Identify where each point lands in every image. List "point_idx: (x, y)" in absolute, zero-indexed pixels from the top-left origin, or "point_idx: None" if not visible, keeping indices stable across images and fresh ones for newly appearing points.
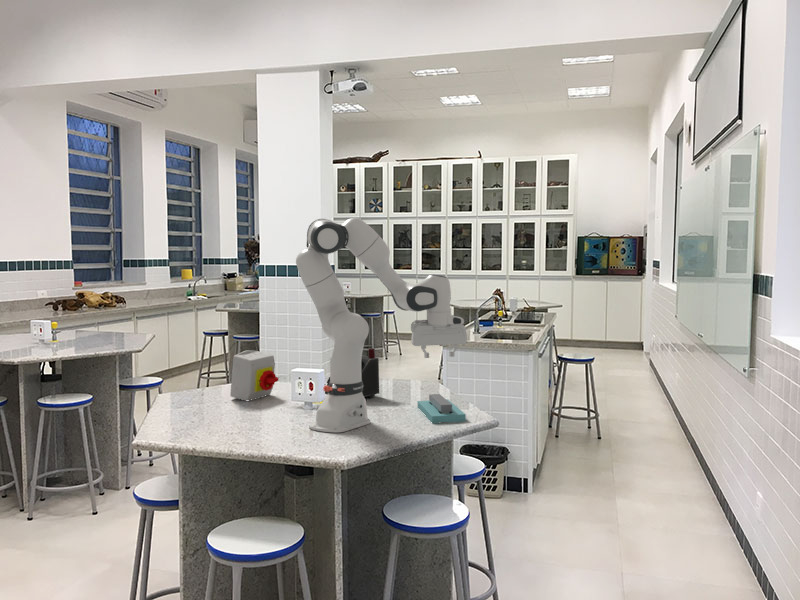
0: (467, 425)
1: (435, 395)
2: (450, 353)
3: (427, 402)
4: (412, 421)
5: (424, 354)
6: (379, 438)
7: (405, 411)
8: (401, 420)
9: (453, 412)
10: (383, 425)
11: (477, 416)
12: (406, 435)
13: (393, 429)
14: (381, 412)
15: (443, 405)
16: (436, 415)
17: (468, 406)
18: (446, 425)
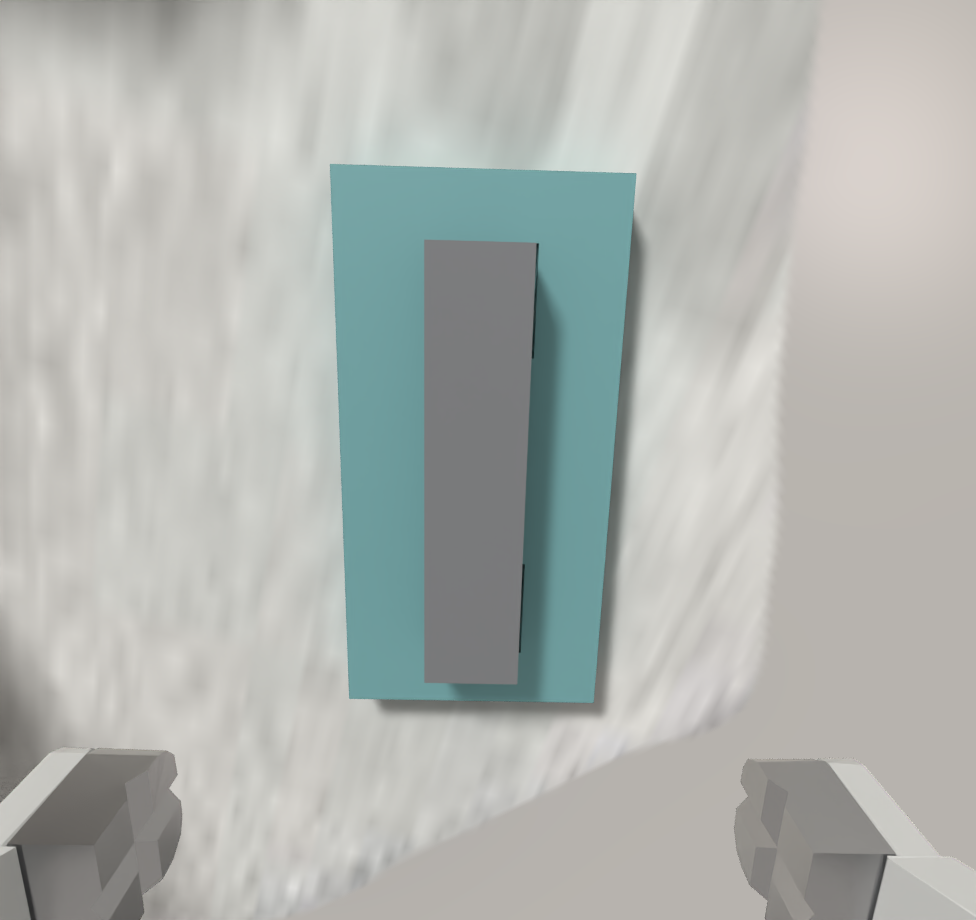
0: (562, 756)
1: (475, 309)
2: (772, 918)
3: (412, 250)
4: (238, 586)
5: (9, 829)
6: None
7: (222, 284)
8: (164, 542)
9: (527, 638)
10: (34, 629)
11: (709, 580)
12: None
13: (97, 727)
14: (16, 259)
15: (446, 681)
16: (385, 683)
17: (778, 265)
18: (437, 726)
